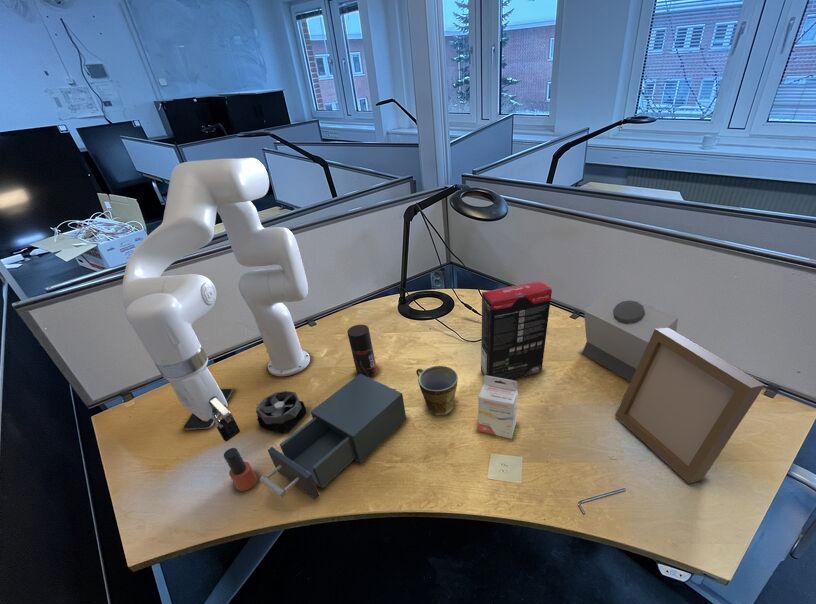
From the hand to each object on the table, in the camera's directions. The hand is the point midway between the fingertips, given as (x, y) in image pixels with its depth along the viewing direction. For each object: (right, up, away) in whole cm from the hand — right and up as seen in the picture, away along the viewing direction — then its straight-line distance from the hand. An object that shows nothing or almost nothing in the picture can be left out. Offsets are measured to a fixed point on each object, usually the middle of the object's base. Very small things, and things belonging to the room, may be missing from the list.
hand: (219, 426), depth 83 cm
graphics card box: (+65, +8, +36) cm, 75 cm away
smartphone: (-19, -1, +30) cm, 36 cm away
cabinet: (+25, -5, +21) cm, 33 cm away
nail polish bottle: (+1, -15, +9) cm, 17 cm away
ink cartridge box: (+59, -4, +18) cm, 62 cm away
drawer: (+16, -12, +10) cm, 22 cm away
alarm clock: (+98, +11, +37) cm, 105 cm away
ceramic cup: (+43, 0, +27) cm, 51 cm away
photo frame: (+99, -6, +13) cm, 100 cm away
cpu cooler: (+3, -3, +25) cm, 26 cm away
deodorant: (+22, +8, +40) cm, 46 cm away
